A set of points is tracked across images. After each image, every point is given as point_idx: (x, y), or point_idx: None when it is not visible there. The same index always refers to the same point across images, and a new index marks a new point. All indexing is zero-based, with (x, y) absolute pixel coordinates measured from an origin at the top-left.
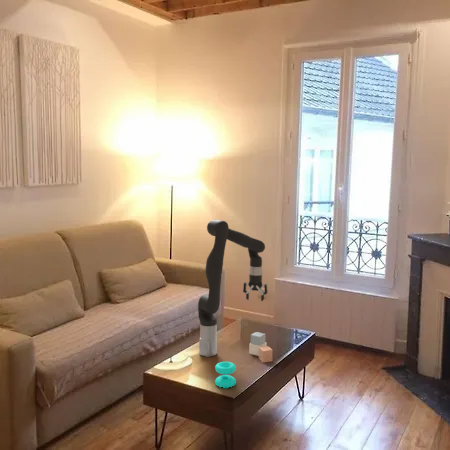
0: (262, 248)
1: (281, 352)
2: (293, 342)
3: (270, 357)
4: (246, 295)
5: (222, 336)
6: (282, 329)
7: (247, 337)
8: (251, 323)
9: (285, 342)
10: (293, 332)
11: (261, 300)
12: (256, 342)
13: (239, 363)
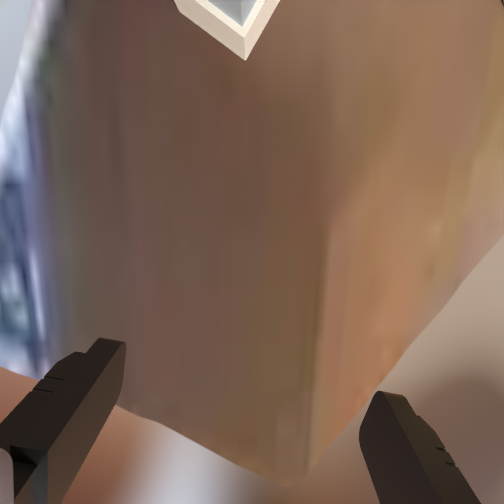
0: None
1: (84, 16)
2: (30, 195)
3: None
4: (464, 487)
5: (421, 268)
6: None
7: (287, 260)
8: (259, 440)
9: (75, 193)
10: (47, 339)
11: (113, 344)
12: None
13: None
